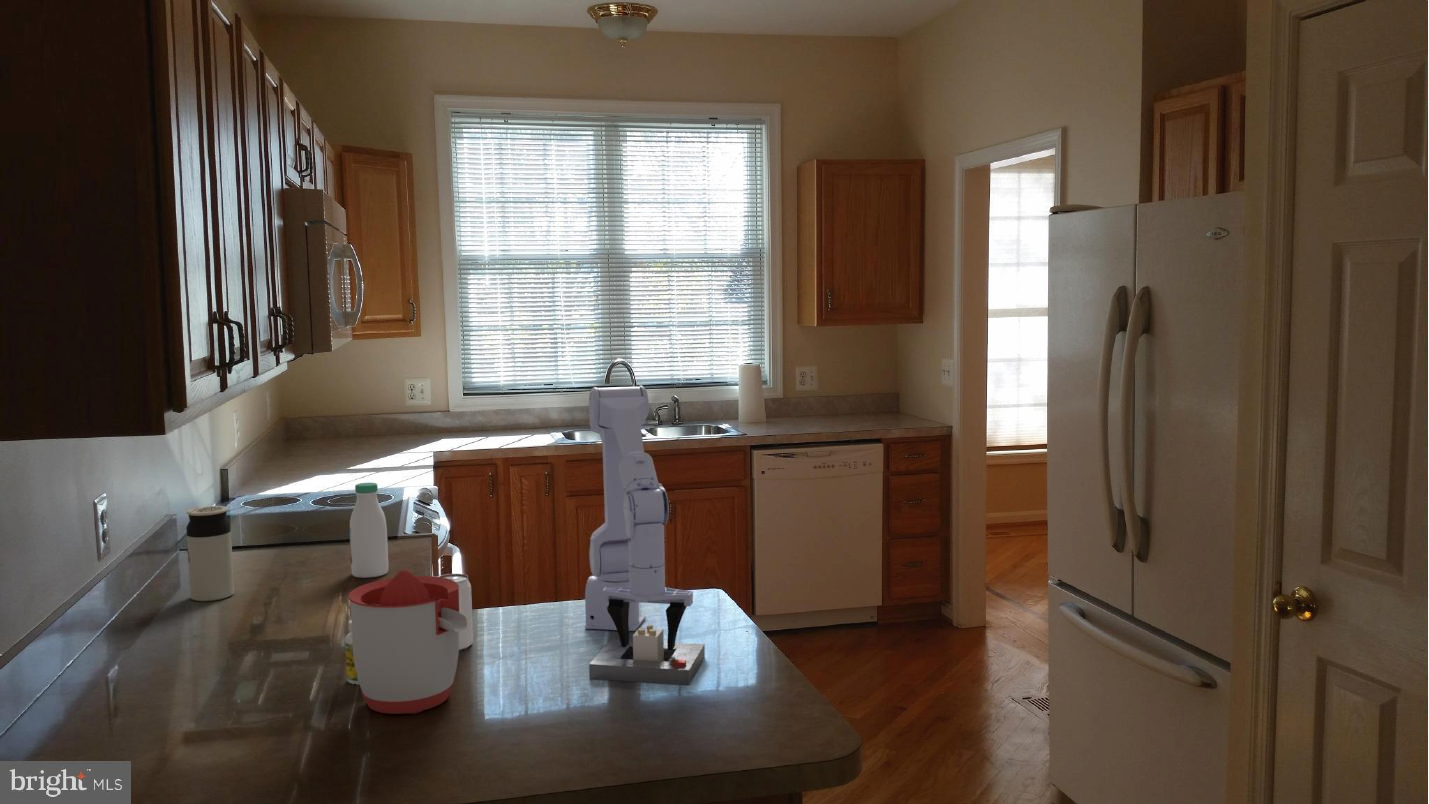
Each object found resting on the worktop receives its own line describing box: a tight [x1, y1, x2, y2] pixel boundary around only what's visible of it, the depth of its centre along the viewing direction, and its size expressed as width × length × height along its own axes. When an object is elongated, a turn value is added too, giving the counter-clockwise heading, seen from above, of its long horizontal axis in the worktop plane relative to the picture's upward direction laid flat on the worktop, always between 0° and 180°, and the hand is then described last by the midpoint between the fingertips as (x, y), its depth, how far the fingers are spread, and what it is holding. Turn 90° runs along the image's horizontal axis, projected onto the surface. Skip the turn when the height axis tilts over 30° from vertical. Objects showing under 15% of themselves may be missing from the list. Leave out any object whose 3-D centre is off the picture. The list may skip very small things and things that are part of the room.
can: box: [437, 573, 474, 651], centre depth 176 cm, size 6×6×12 cm
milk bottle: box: [349, 482, 389, 579], centre depth 223 cm, size 8×8×20 cm
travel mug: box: [185, 505, 235, 602], centre depth 207 cm, size 8×8×18 cm
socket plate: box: [588, 638, 706, 686], centre depth 164 cm, size 16×12×3 cm
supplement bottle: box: [344, 619, 360, 686], centre depth 160 cm, size 5×5×10 cm
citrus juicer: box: [348, 569, 467, 715], centre depth 151 cm, size 16×17×20 cm
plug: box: [632, 623, 665, 662], centre depth 164 cm, size 4×4×7 cm
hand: (648, 646), depth 164 cm, fingers open, 7 cm apart
